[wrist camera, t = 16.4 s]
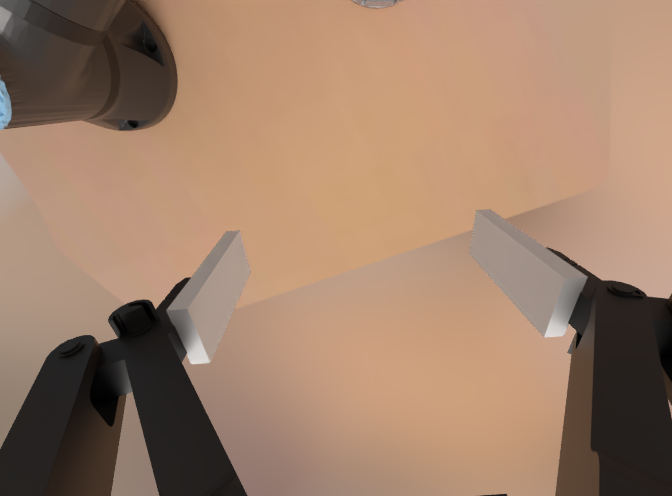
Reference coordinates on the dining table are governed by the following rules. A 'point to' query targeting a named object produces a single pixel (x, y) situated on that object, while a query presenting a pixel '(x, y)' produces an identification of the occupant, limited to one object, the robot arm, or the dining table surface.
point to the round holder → (377, 3)
